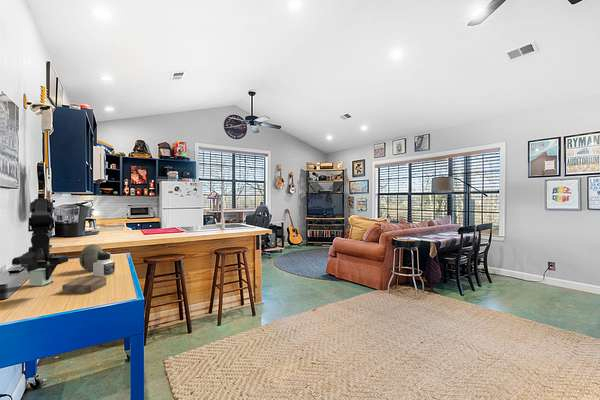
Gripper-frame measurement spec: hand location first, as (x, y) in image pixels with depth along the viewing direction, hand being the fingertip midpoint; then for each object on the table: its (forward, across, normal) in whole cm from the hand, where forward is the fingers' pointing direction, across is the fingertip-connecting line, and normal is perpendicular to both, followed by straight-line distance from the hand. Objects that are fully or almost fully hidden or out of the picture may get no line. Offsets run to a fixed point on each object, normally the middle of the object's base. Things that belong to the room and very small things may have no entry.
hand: (40, 280), depth 125 cm
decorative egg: (+7, -5, +44) cm, 45 cm away
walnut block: (+8, +12, +10) cm, 17 cm away
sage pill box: (+2, 0, 0) cm, 2 cm away
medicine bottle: (+7, +7, +34) cm, 36 cm away
